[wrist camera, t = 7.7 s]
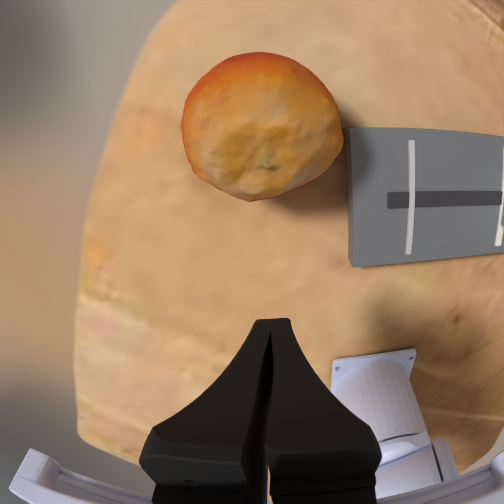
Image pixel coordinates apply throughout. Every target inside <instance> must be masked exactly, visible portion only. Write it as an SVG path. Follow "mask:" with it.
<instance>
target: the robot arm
mask: <svg viewBox="0 0 504 504" xmlns="http://www.w3.org/2000/svg"><path fill="white" fill-rule="evenodd" d="M416 354H417V352H416V350H415V349H414V348H411V349H405V350H399V351H393V352H386V353H379V354H371V355H364V356H355V357H346V358H338V359H335V360H334V361H333V362H332V375H331V388H330V390H329V389H328V388H327V387H326V386H325V385H324V383H323V382H322V381H321V380H320V378H319V377H318V376H317V374H316V373H315V372H314V370H313V369H312V367H311V366H310V364H309V362H308V361H307V359H306V357H305V356H304V354H303V352H302V350H301V348H300V346H299V344H298V342H297V340H296V338H295V335H294V333H293V330H292V327H291V321H290V319H288V318H277V319H259V320H256V321H255V322H254V325H253V327H252V329H251V331H250V333H249V335H248V336H247V338H246V340H245V342H244V343H243V345H242V346H241V348H240V350H239V351H238V353H237V354H236V356H235V357H234V358H233V360H232V361H231V362H230V364H229V365H228V366H227V368H226V369H225V370H224V371H223V373H222V374H221V375H220V376H219V377H218V378H217V379H216V380H215V382H214V383H213V384H212V385H211V386H210V387H209V388H207V389H206V390H205V391H204V392H203V393H202V394H201V395H200V396H199V397H198V398H196V399H195V400H194V401H193V402H191V403H190V404H189V405H187V406H186V407H185V408H183V409H182V410H181V411H179V412H178V413H176V414H175V415H173V416H172V417H170V418H168V419H167V420H165V421H163V422H161V423H160V424H158V425H156V426H154V427H153V428H152V430H151V432H150V434H149V435H148V437H147V439H146V441H145V444H144V447H143V450H142V452H141V455H140V458H139V464H140V465H141V467H142V468H143V470H144V471H145V472H146V473H147V474H148V475H149V477H150V478H151V479H152V480H153V481H154V482H155V483H156V486H155V490H154V493H153V496H151V495H147V494H142V493H138V492H134V491H130V490H127V489H122V488H119V487H116V486H113V485H109V484H106V483H103V482H100V481H97V480H94V479H91V478H88V477H85V476H82V475H80V474H77V473H74V472H71V471H69V470H66V469H64V468H62V467H61V466H60V465H59V464H58V463H57V462H56V461H55V460H54V459H52V458H51V457H49V456H47V455H45V454H43V453H41V452H39V451H36V450H34V449H32V448H30V449H29V451H28V453H27V455H26V456H25V458H24V460H23V462H22V464H21V466H20V467H19V470H18V471H17V473H16V475H15V477H14V479H13V481H12V483H11V485H10V487H9V489H10V490H11V491H12V492H13V493H15V494H16V495H17V496H19V497H20V498H21V499H23V500H24V501H25V502H27V503H28V504H267V482H268V466H269V471H270V476H271V477H270V495H271V497H272V501H273V504H504V450H503V451H501V452H500V453H499V454H497V455H496V456H495V457H494V458H493V459H492V461H491V462H490V463H489V464H487V465H485V466H483V467H480V468H478V469H475V470H473V471H471V472H468V473H465V474H463V475H460V476H459V474H458V471H457V467H456V464H455V461H454V458H453V455H452V452H451V449H450V446H449V443H448V441H447V440H445V439H441V438H440V437H437V438H436V439H434V440H433V443H434V445H433V443H432V440H431V438H430V436H429V434H428V431H427V428H426V425H425V422H424V419H423V416H422V413H421V410H420V407H419V405H418V402H417V399H416V396H415V394H414V391H413V388H412V385H411V383H410V380H409V378H410V375H411V371H412V368H413V365H414V361H415V358H416ZM336 367H339V368H336Z"/></svg>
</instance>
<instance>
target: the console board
mask: <svg viewBox="0 0 504 504" xmlns="http://www.w3.org/2000/svg"><path fill="white" fill-rule="evenodd" d="M344 134H345V148H346V163H347V184H348V222H349V255H348V258H349V260H350V262H351V265H352V267H364V266H375V265H386V264H397V263H407V262H417V261H428V260H437V259H447V258H456V257H465V256H474V255H483V254H492V253H500V252H504V226H502V225H501V220H502V212H503V203H504V137H502V136H495V135H488V134H479V133H471V132H461V131H449V130H435V129H417V128H344Z"/></svg>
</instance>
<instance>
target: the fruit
mask: <svg viewBox="0 0 504 504" xmlns="http://www.w3.org/2000/svg"><path fill="white" fill-rule="evenodd" d="M181 129H182V138H183V144H184V148H185V151H186V155H187V158H188V161H189V162H190V164H191V166H192V170H193V171H194V173H195V174H197V175H198V177H199V178H200V179H202V180H204V181H205V182H207V183H209V184H211V185H213V186H214V187H216V188H217V189H219V190H221V191H224V192H225V193H227V194H229V195H231V196H233V197H236V198H239V199H242V200H245V201H248V202H253V201H257V200H262V199H270V198H274V197H277V196H279V195H281V194H283V193H285V192H287V191H290V190H292V189H294V188H296V187H299V186H301V185H304V184H306V183H308V182H310V181H312V180H314V179H315V178H317V177H318V176H320V175H321V174H322V173H324V172H325V171H326V170H327V169H328V168H329V167H330V165H331V164H332V163H333V161H334V159H335V158H336V157H337V155H338V154H339V153H340V151H341V150H342V147H343V140H344V137H343V133H342V128H341V121H340V114H339V111H338V108H337V105H336V103H335V101H334V99H333V97H332V95H331V93H330V92H329V91H328V89H327V88H326V87H325V85H324V84H323V83H322V82H321V81H320V80H319V78H318V77H317V76H316V75H315V74H313V73H312V72H311V71H310V70H309V69H307V68H306V67H304V66H303V65H301V64H300V63H298V62H296V61H295V60H293V59H290V58H287V57H284V56H281V55H277V54H273V53H266V52H254V53H246V54H241V55H236V56H232V57H230V58H228V59H226V60H224V61H222V62H221V63H219V64H218V65H216V66H215V67H214V68H212V69H211V70H210V71H209V72H208V73H206V74H205V75H204V76H203V77H202V78H201V79H200V80H199V81H198V82H197V84H196V85H195V86H194V87H193V89H192V90H191V91H190V93H189V95H188V97H187V99H186V101H185V105H184V111H183V116H182V120H181Z"/></svg>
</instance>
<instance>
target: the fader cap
mask: <svg viewBox="0 0 504 504" xmlns="http://www.w3.org/2000/svg"><path fill="white" fill-rule="evenodd" d="M501 225H502V226H504V203H503V212H502V220H501Z"/></svg>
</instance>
